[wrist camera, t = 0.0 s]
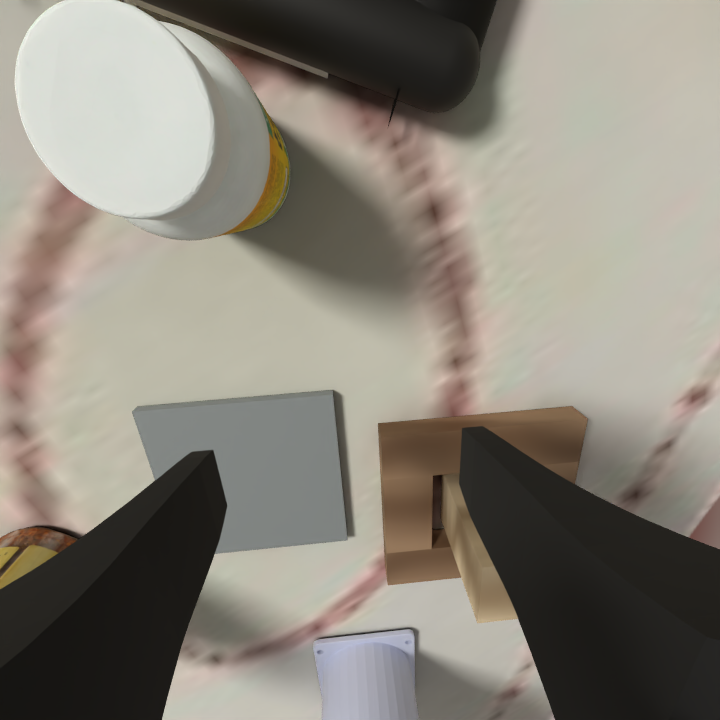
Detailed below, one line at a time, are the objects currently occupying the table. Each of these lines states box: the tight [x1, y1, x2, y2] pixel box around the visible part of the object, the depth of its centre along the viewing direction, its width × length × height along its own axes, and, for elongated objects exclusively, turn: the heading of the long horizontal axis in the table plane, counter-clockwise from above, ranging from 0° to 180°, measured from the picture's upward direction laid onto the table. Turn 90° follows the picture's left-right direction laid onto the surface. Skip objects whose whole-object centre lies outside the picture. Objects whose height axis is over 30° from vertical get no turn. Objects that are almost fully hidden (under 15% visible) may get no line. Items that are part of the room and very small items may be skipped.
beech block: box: [441, 473, 518, 623], centre depth 21 cm, size 4×4×7 cm
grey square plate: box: [132, 390, 347, 554], centre depth 22 cm, size 11×11×1 cm
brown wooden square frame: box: [378, 406, 588, 585], centre depth 24 cm, size 12×12×2 cm
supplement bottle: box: [15, 0, 290, 240], centre depth 12 cm, size 5×5×10 cm
